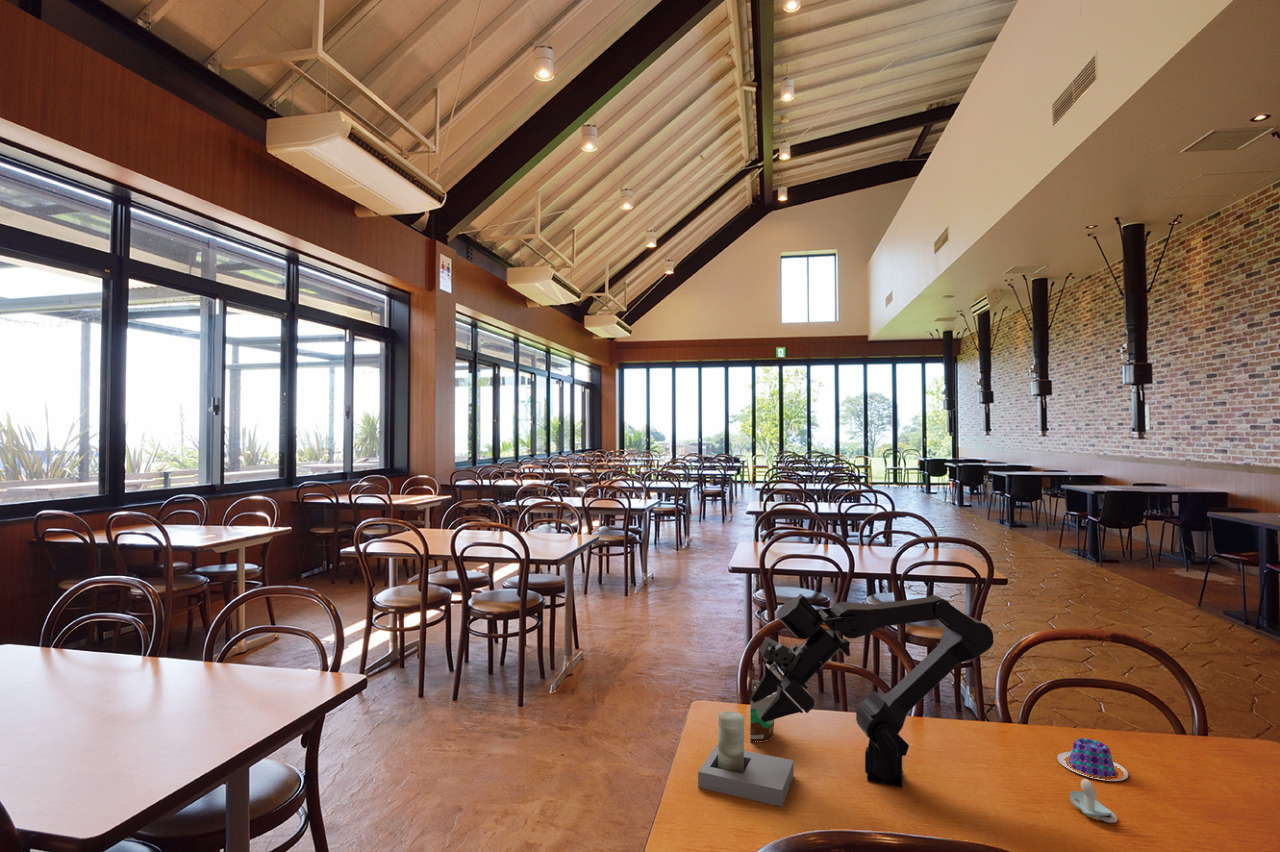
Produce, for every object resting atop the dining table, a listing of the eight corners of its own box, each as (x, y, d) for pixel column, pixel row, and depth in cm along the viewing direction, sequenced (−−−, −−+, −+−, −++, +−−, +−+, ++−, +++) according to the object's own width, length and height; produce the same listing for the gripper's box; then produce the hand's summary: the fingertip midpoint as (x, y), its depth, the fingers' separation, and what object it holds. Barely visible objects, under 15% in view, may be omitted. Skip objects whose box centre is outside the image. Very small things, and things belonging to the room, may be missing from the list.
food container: (778, 748, 140) (779, 701, 141) (750, 745, 142) (750, 699, 142) (778, 724, 152) (778, 681, 153) (751, 721, 154) (752, 679, 154)
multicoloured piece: (1121, 763, 136) (1121, 738, 136) (1134, 790, 125) (1134, 763, 126) (1054, 750, 142) (1053, 726, 142) (1061, 775, 131) (1061, 749, 131)
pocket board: (793, 775, 129) (793, 760, 129) (782, 806, 118) (782, 790, 118) (715, 759, 135) (715, 744, 135) (698, 787, 124) (698, 771, 124)
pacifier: (1096, 804, 120) (1064, 803, 120) (1097, 770, 121) (1065, 769, 120) (1126, 827, 113) (1093, 826, 113) (1127, 791, 113) (1094, 790, 113)
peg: (746, 774, 129) (746, 713, 129) (739, 787, 124) (740, 723, 125) (721, 769, 131) (722, 709, 131) (714, 781, 126) (715, 719, 127)
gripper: (773, 612, 138) (721, 664, 137) (797, 639, 119) (737, 700, 119) (809, 650, 138) (757, 702, 137) (839, 682, 119) (779, 743, 119)
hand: (757, 710), depth 128 cm, fingers open, 9 cm apart
